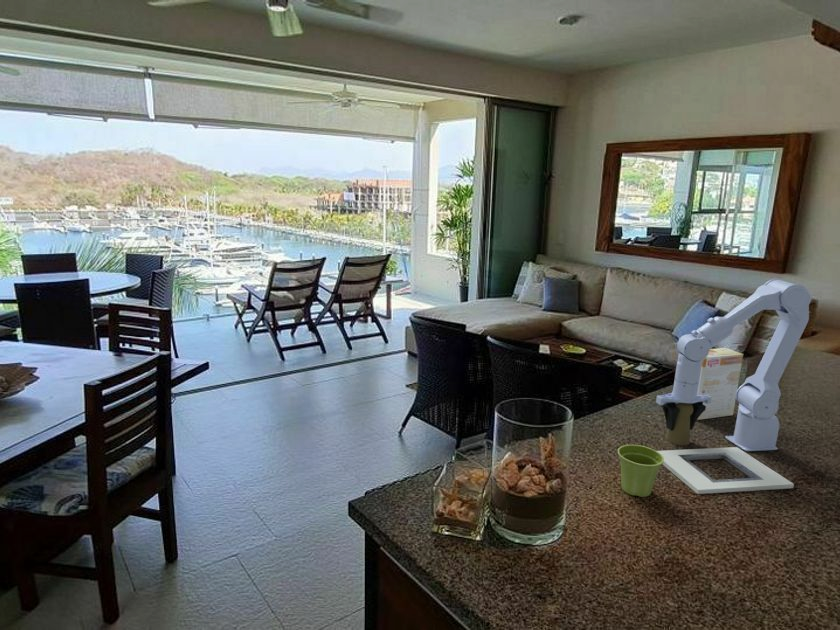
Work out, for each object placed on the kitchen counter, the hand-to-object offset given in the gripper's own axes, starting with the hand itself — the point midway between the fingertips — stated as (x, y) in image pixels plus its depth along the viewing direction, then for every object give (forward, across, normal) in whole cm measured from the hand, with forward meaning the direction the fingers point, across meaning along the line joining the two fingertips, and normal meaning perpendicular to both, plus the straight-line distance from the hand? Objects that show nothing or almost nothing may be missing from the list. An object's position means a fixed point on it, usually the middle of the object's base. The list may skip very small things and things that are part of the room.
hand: (679, 428), depth 144 cm
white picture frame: (+3, 0, +16) cm, 16 cm away
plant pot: (+4, +25, +22) cm, 34 cm away
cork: (+4, 0, 0) cm, 4 cm away
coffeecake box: (+4, -20, -16) cm, 26 cm away
